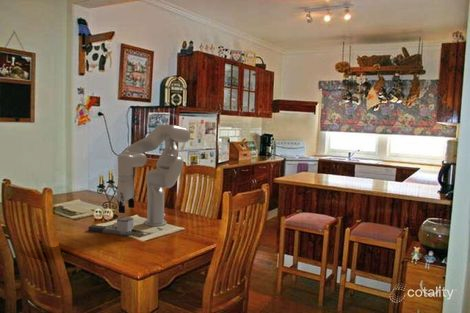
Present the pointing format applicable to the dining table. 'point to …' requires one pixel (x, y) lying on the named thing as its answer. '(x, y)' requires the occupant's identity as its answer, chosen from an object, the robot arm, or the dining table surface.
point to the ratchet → (107, 230)
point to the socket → (125, 224)
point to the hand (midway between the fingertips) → (126, 210)
